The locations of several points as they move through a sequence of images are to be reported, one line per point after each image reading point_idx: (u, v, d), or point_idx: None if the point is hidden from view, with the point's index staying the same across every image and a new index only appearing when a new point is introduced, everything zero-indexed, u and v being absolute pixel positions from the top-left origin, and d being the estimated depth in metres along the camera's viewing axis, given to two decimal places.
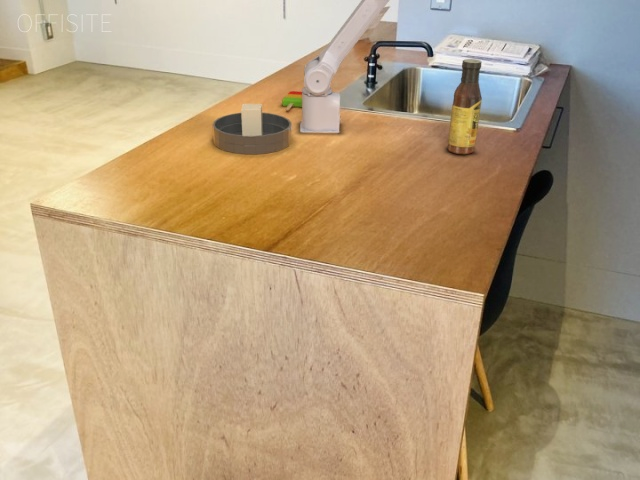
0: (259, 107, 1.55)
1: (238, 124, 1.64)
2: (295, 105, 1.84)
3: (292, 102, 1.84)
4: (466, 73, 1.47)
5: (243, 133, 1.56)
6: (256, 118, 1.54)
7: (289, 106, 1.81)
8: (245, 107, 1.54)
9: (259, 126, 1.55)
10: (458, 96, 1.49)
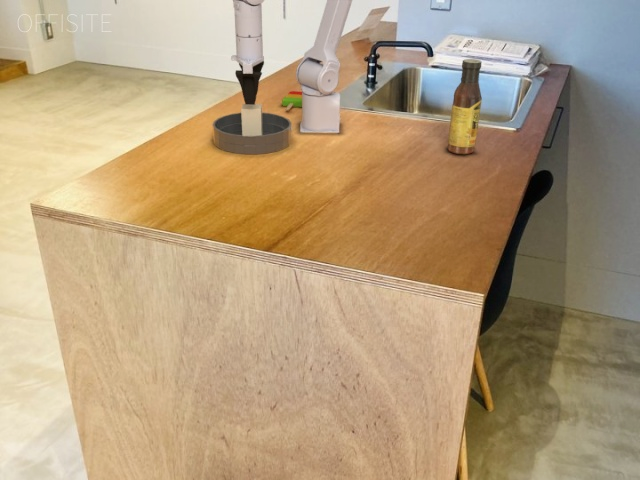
0: (259, 107, 1.55)
1: (238, 124, 1.64)
2: (295, 105, 1.84)
3: (292, 102, 1.84)
4: (466, 73, 1.47)
5: (243, 133, 1.56)
6: (256, 118, 1.54)
7: (289, 106, 1.81)
8: (245, 107, 1.54)
9: (259, 126, 1.55)
10: (458, 96, 1.49)
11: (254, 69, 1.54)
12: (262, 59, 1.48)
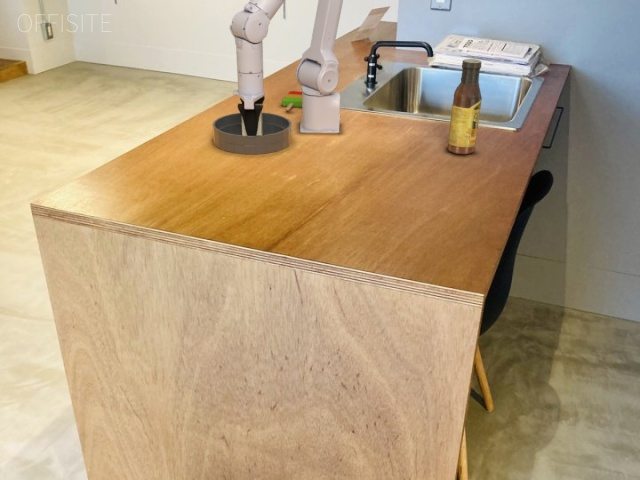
0: None
1: (238, 124, 1.64)
2: (295, 105, 1.84)
3: (292, 102, 1.84)
4: (466, 73, 1.47)
5: (243, 133, 1.56)
6: None
7: (289, 106, 1.81)
8: None
9: (259, 126, 1.55)
10: (458, 96, 1.49)
11: (255, 104, 1.57)
12: (263, 94, 1.53)
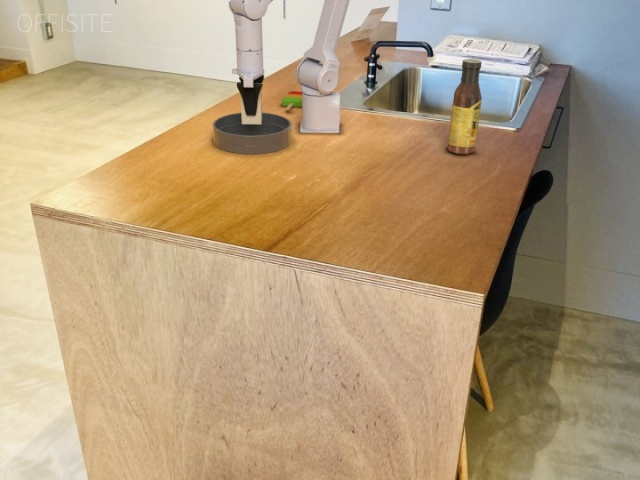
0: None
1: (238, 124, 1.64)
2: (295, 105, 1.84)
3: (292, 102, 1.84)
4: (466, 73, 1.47)
5: (242, 113, 1.54)
6: None
7: (289, 106, 1.81)
8: None
9: (258, 106, 1.53)
10: (458, 96, 1.49)
11: (254, 83, 1.55)
12: (262, 72, 1.50)
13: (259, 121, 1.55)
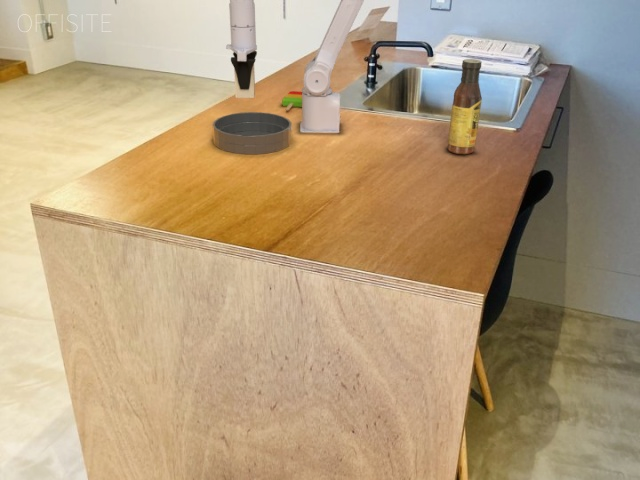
0: None
1: (238, 124, 1.64)
2: (295, 105, 1.84)
3: (292, 102, 1.84)
4: (466, 73, 1.47)
5: (236, 87, 1.62)
6: None
7: (289, 106, 1.81)
8: None
9: (251, 80, 1.61)
10: (458, 96, 1.49)
11: (247, 59, 1.63)
12: (255, 48, 1.58)
13: (252, 95, 1.63)
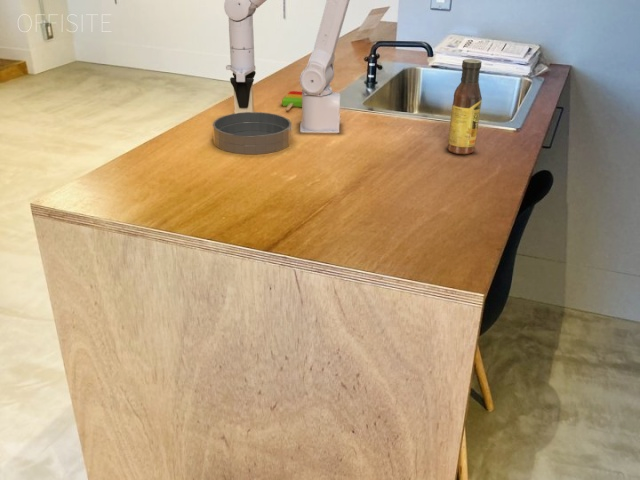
0: None
1: (238, 124, 1.64)
2: (295, 105, 1.84)
3: (292, 102, 1.84)
4: (466, 73, 1.47)
5: (235, 105, 1.69)
6: None
7: (289, 106, 1.81)
8: None
9: (250, 99, 1.68)
10: (458, 96, 1.49)
11: (246, 79, 1.69)
12: (254, 68, 1.65)
13: None
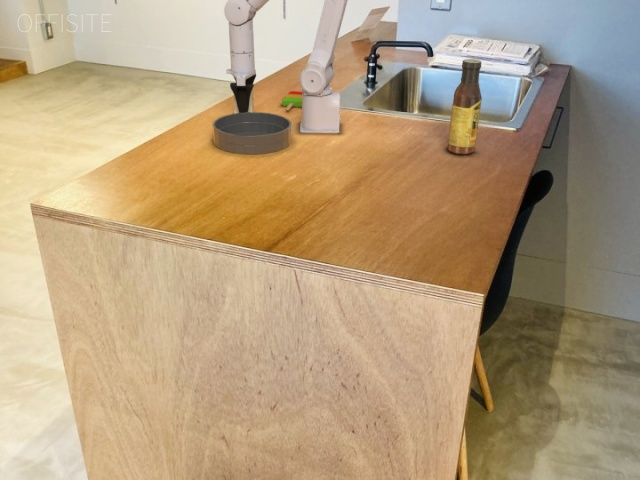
0: None
1: (238, 124, 1.64)
2: (295, 105, 1.84)
3: (292, 102, 1.84)
4: (466, 73, 1.47)
5: None
6: None
7: (289, 106, 1.81)
8: None
9: (250, 107, 1.69)
10: (458, 96, 1.49)
11: (247, 81, 1.71)
12: (254, 72, 1.65)
13: None
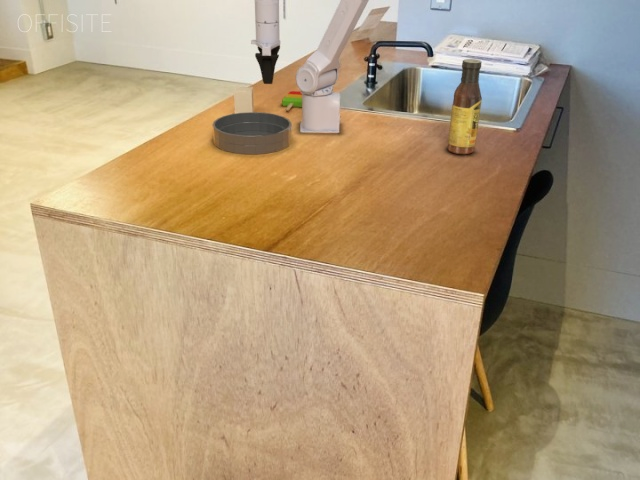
0: (250, 89, 1.68)
1: (238, 124, 1.64)
2: (295, 105, 1.84)
3: (292, 102, 1.84)
4: (466, 73, 1.47)
5: None
6: (247, 100, 1.68)
7: (289, 106, 1.81)
8: (237, 90, 1.68)
9: (250, 107, 1.69)
10: (458, 96, 1.49)
11: (271, 52, 1.71)
12: (279, 43, 1.66)
13: None
